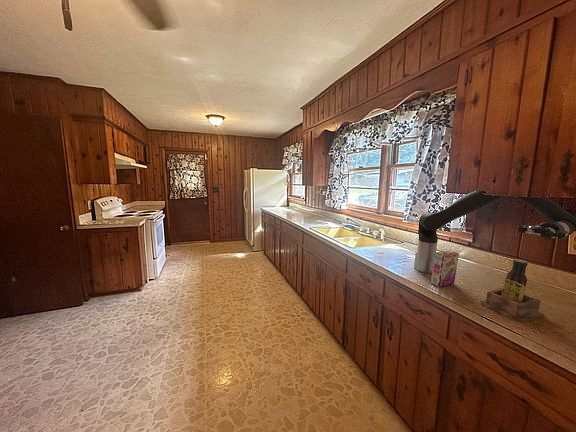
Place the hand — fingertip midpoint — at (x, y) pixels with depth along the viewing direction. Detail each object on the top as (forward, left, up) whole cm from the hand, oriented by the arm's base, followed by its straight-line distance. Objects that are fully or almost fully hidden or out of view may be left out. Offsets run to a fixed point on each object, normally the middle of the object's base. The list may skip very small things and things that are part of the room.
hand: (532, 232), depth 101 cm
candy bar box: (-22, -19, -30) cm, 42 cm away
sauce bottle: (+4, -15, -29) cm, 33 cm away
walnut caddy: (+4, -15, -30) cm, 34 cm away
